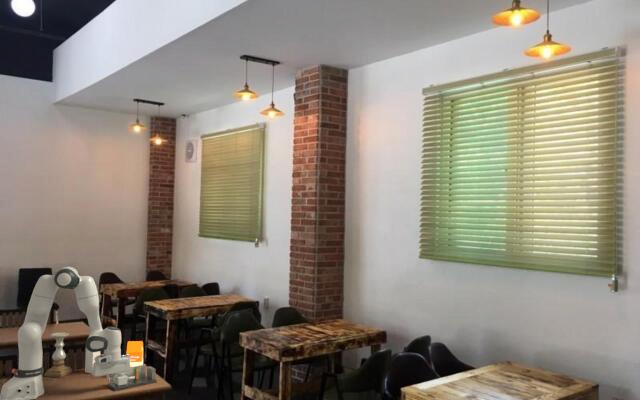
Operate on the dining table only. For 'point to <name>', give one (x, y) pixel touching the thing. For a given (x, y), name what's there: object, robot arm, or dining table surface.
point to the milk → (90, 360)
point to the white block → (122, 379)
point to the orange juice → (135, 352)
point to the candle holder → (59, 357)
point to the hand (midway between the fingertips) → (111, 381)
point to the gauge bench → (135, 382)
